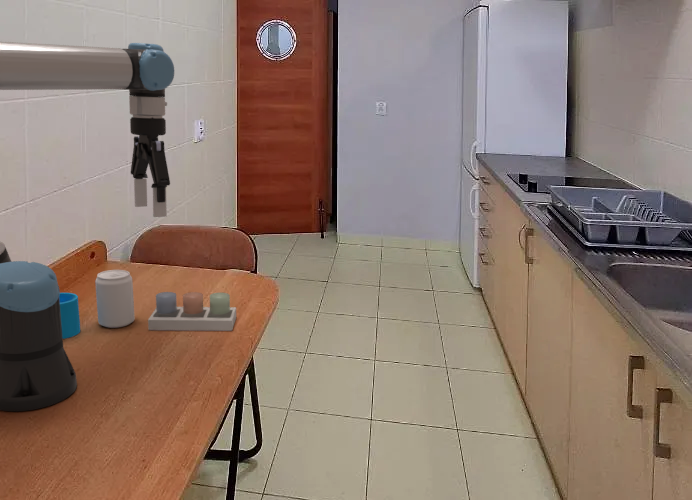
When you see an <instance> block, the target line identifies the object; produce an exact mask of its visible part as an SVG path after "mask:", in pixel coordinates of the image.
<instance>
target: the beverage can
mask: <svg viewBox="0 0 692 500" xmlns="http://www.w3.org/2000/svg"><path fill="white" fill-rule="evenodd" d="M96 275H97V276H96V279H95V283H94V284H95V295H96V296H95V298H96V309H97V312H96V313H97V321H98V324H99V325H100V326H103V327H105V328H111V329H114V328H122V327H123V328H124V327H126V326H128V325H130V324H131V323H133V322H134V321H135V300H134V299H135V298H134V285H133V277H132V276H131V273H130V271H128V270H124V269H111V270H110V269H109V270H103V271H101V272H98V273H97V274H96Z"/></svg>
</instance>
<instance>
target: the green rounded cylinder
mask: <svg viewBox="0 0 692 500" xmlns="http://www.w3.org/2000/svg"><path fill="white" fill-rule="evenodd" d="M230 298H231V297H230V294H229V293H226V292H214V293H211V294H210V295H209V307H210V312H211V313H213V314H226V313H228V312H229V311H230V307H231V303H230V301H231V299H230Z"/></svg>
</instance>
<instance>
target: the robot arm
mask: <svg viewBox="0 0 692 500" xmlns="http://www.w3.org/2000/svg"><path fill="white" fill-rule="evenodd" d="M174 78H175V65H174V62H173V60H172V58H171V57H170V55H168V53H166V52H165V51H164V48H163V47H162V46H161V45H159V44H156V43H143V42H130V43H129V44H128V46H127V48H121V47H120V48H119V47H118V48H117V47H103V46H102V47H101V46H84V45H68V44H67V45H66V44H65V45H64V44H63V45H62V44H49V43H48V44H46V43H28V42H11V41H10V42H9V41H0V91H20V90H21V91H24V90H27V91H29V90H30V91H31V90H32V91H34V90H36V91H38V90H39V91H42V90H43V91H46V90H48V91H49V90H53V91H54V90H56V91H57V90H58V91H59V90H60V91H61V90H70V91H71V90H79V91H80V90H83V91H84V90H87V91H88V90H129V91H128V92H129V114H130V115H132V116H131V117H130V118H129V123H130V133H131V134H132V135H134V136H133V150H132V151H133V152H132V157H131V158H132V160H131V165H130V175H132V178H133V188H134V189H133V190H134V191H133V192H134V193H133V194H134V207H136V208H139V207H140V208H141V207H148V186H147V184H148V183H147V179H148V178H149V177H148V174H147V170H148V167H149V170H150V174H151V178H152V182H153V183H152V184H151V186H150V187H151V188H152V209H153V212H152V217H153V218H163V217H167V187H168V186H170V185H171V180H170V175H169V170H168V164H167V163H168V162H167V157H166V153H165V142H164V140H159V136H164V135H166V134H167V132H166V131H167V127H166V126H167V124H166V119H165V118H164V117H163V116H165V115H166V107H167V106H168V102H166V89H167V88H168V87H169V86H170V85H171V84H172V83H173V81H174ZM60 293H61V291H60V285H59V284H58V279H57V274H56V272H54V269H52V268H50V266H47V265H45V264H43V263H39V262H34V261H32V262H28V261H26V260H16V261H12V259H11V257H10V255H9V252H8V249H7V248H6V244H5V243H3V242H2V241H0V411H3V412H25V411H27V412H28V411H35V410H37V409H38V410H39V409H43V408H46V407H51V406H53V405H55V404H58V403H60V402H62V401H64V400H66V399H68V397H70V396H72V394H73V393H75V391H76V390H77V386H78V383H77V374H76V371H75V369H74V367H73V365H72V362H71V361H70V359H69V356H68V354H67V353H66V352H67V351H66V350H65V348H64V339H63V338H62V325H61V313H60V301H59V295H60Z"/></svg>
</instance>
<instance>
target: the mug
mask: <svg viewBox="0 0 692 500" xmlns="http://www.w3.org/2000/svg"><path fill="white" fill-rule="evenodd" d="M59 301H60V313H61V325H62V338H63V340H64V339H69V338H72V337H75V336H77V335H78V334H80V333H81V320H80V309H79V307H80V305H79V296H78V295H77V294H76V293H74V292H73V293H72V292H60V295H59Z"/></svg>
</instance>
